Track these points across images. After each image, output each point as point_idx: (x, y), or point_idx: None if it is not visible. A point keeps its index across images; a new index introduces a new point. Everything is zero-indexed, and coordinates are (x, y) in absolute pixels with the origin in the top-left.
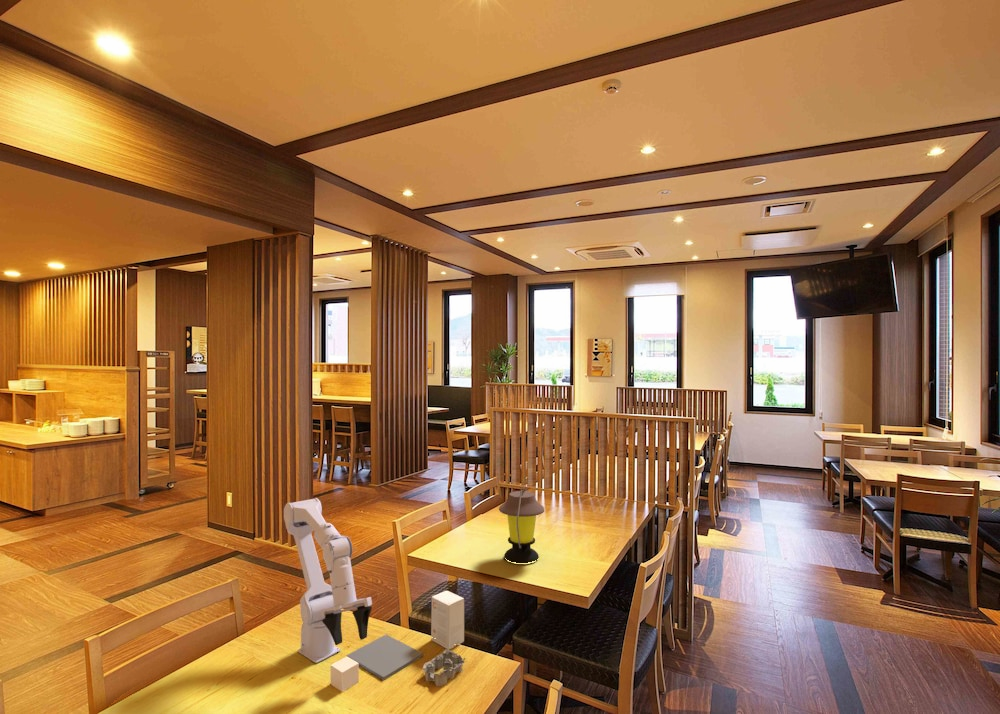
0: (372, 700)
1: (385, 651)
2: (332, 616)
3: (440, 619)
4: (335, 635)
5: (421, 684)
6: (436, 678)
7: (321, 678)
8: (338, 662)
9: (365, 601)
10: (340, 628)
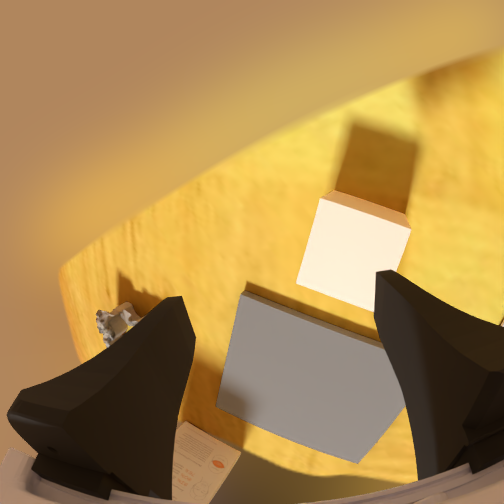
0: (215, 193)
1: (315, 406)
2: (466, 433)
3: (176, 477)
4: (399, 304)
5: (154, 299)
6: (118, 309)
7: (456, 232)
8: (387, 259)
9: (3, 485)
10: (403, 385)
